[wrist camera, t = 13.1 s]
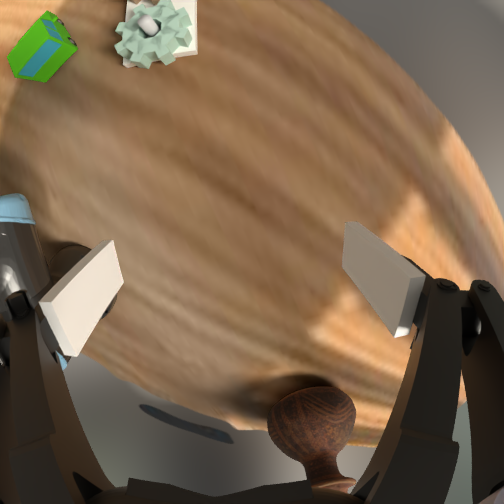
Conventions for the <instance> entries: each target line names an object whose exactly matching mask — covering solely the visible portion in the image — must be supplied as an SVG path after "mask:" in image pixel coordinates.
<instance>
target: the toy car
mask: <svg viewBox="0 0 504 504" xmlns="http://www.w3.org/2000/svg"><path fill="white" fill-rule="evenodd" d="M70 37H71V36H70V35H69V33H68V32H67V30H66V28H65V27H64V24H63V22H62V21H61V20H60V19H58V17H57V16H56V15H55V14H53V13H51V12H49V11H46V12H45V13H44V14H43V15H42V16H41V17H40V18H39V19H38V20H37V21H36V22H35V23H34V24H33V26H32V27H31V28H30V29H29V30H28V31H27V32H26V33H25V34H24V36H23V37H22V38H21V39H20V40H19V42H18V43H17V45H16V46H15V47H14V48H13V50H12V51H11V52H10V54H9V55H8V56H7V59H8V61H9V64H10V67H11V69H12V72H13V74H14V77H15V78H22V79H29V80H35V81H40V82H47V81H48V80H49V79H50V77H51V76H52V75H53V74H54V73H55V72H56V71H57V70H58V69H59V68H60V67H61V66H62V64H63V63H64V62H65V61H66V60H67V59H68V58H69V57H70V56H71V55H72V54H73V53H75V52H76V51H77V50H78V48H77V45H76V43H75V42H74V41H73V40H72V39H71V38H70Z"/></svg>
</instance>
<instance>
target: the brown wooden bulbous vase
mask: <svg viewBox="0 0 504 504" xmlns="http://www.w3.org/2000/svg"><path fill="white" fill-rule="evenodd" d="M355 418H356V409H355V406H354V404H353V402H352V400H351V398H350V397H349V396H348V395H347V394H345V393H344V392H343V391H341V390H340V389H338V388H335V387H310V388H306V389H302V390H299V391H296V392H293V393H291V394H289V395H287V396H286V397H284V398H283V399H281V400H280V401H279V402H278V403H276V404H275V405H274V406H273V407H272V409H271V411H270V413H269V415H268V421H267V426H268V432H269V435H270V437H271V439H272V441H273V442H274V444H275V445H276V446H277V447H278V448H279V449H280V450H281V451H282V452H283V453H285V454H286V455H287V456H289V457H290V458H292V459H294V460H297V461H299V462H301V463H302V464H303V466H304V468H305V472H306V476H307V480H309V479H310V483H311V487H320V488H328V489H333V490H338V491H342V492H345V493H347V491H348V488H349V487H351V486H353V485H355V484H356V480H355V479H353V478H349V477H344V476H342V475H341V474H340V472H339V470H338V467H337V462H336V456H337V454H338V453H339V452H340V451H341V450H342V449H343V448H344V447H345V445H346V444H347V442H348V440H349V438H350V436H351V433H352V430H353V427H354V423H355Z"/></svg>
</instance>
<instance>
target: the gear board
mask: <svg viewBox="0 0 504 504" xmlns="http://www.w3.org/2000/svg"><path fill="white" fill-rule="evenodd" d="M159 1H160V0H127V8H126V18H125V22H128V21H129V20H130V19H131V18H132V17H133V16H134V15H135V13H134V11H133V9H134V8H135V7H137V6H139V5H141V4H143V5H144V6H145V7H146V8H150V7H154V6H157V4H158V3H159ZM171 1H172V4H173V6H174V8H175V10H178V9H180V8H183V7H184V8H185V10H186V11H187V13H188V15H189V17H190V20H191V23H192V25H191V26H189V27H187V28H188V29H189V32H190V34H191V36H192V41H191V43H190V45H189V47H183V46H180V47H178V48H177V49H176V50H175V52H174V53H173V56H174V57H175V58H176V57H182V56H189V55H196V54H197V0H171ZM137 23H138V25H139V26H140V27H141V28H142V29H143V30H144V31H145V32H146V33H147V35H148V36H147V38H151V37H154V36H155V35H156V34H157V33H158V32H159V31H160V30H161V29H159V27H158V26H157V24H156V23H155V22H154V20H153V19H152V18H151V16H150V15H147V14H146V15H142V16H141V17H140V18H139V19H138V21H137ZM130 59H131V58H130ZM130 59H129V60H127V59H126V58H124V57H123V65H124V66H125V67H127V68H130V67H134V66H136V65H135V64H134V63H132V62H131V61H130ZM155 61H160V60H155ZM155 61H152V62H155Z"/></svg>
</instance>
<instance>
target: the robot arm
mask: <svg viewBox="0 0 504 504" xmlns="http://www.w3.org/2000/svg"><path fill="white" fill-rule="evenodd" d="M35 224H36V222H35V220H34V219H33V216H32V213H31V210H30V206H29V203H28V200H27V198H26V197H25V196H24V195H22V194H19V193H13V194H7V195H2V196H0V359H1V360H2V362H3V364H2V365H1V363H0V504H444V502H445V499H446V496H447V493H448V490H449V487H450V484H451V481H452V478H453V474H454V470H455V466H456V463H457V459H458V454H459V444H458V442H455V441H453V440H452V434H453V429H454V424H455V418H456V412H457V405H458V397H459V388H460V377H461V370H462V375H463V380H464V385H465V391H466V397H467V404H468V412H469V419H470V431H471V446H472V498H473V504H504V302H503V300H502V298H501V297H500V295H499V293H498V292H497V290H496V289H495V288H494V286H493V285H491V284H490V283H489V282H487V281H485V280H474V281H473V282H472V284H471V287H470V290H469V291H466V290H460V289H459V287H458V286H457V285H456V284H455V283H454V282H452V281H450V280H447V279H443V278H437V279H433V278H432V277H431V276H430V275H429V274H428V273H426V272H425V271H424V270H423V269H421V268H420V267H419V266H418V265H416V263H414V262H413V261H412V260H411V259H409V258H407V257H405V256H402V255H400V254H399V253H398V252H397V251H395V250H394V249H393V248H391V247H390V246H389V245H388V244H386V243H385V242H384V241H383V240H381V239H380V238H379V237H377V236H376V235H375V234H373V233H372V232H371V231H369V230H368V229H367V228H365V227H364V226H363V225H361V224H360V223H359V222H345V233H344V247H343V259H342V268H343V269H344V270H345V272H346V273H347V274H348V275H349V277H350V278H351V279H352V281H353V282H354V283H355V285H356V286H357V287H358V288H359V290H360V291H361V292H362V294H363V295H364V296H365V298H366V299H367V301H368V302H369V303H370V305H371V306H372V307H373V309H374V310H375V311H376V313H377V314H378V316H379V317H380V318H381V320H382V321H383V323H384V324H385V325H386V327H387V328H388V330H389V331H390V332H391V334H392V335H393V337H394V338H396V337H400V336H404V335H408V334H409V332H410V329H411V326H412V323H414V324H415V325H416V326H417V331H416V334H415V336H414V339H413V342H412V344H411V347H410V349H411V353H410V357H409V361H408V364H407V368H406V371H405V375H404V378H403V381H402V384H401V387H400V390H399V393H398V396H397V399H396V402H395V405H394V408H393V410H392V413H391V415H390V418H389V421H388V423H387V425H386V428H385V430H384V433H383V435H382V437H381V440H380V442H379V444H378V446H377V448H376V450H375V453H374V455H373V457H372V459H371V461H370V463H369V465H368V467H367V468H366V470H365V472H364V474H363V475H362V477H361V478H360V480H359V481H358V482H357V484H356V486H355V487H354V489H353V490H352V492H351V493H350V494H348V493H345V492H342V491H338V490H333V489H328V488H320V487H311V483H310V479H309V480H303V481H296V482H290V483H282V484H273V485H263V486H260V487H256V488H253V489H249V490H245V491H241V492H237V493H233V494H229V495H224V496H218V497H212V496H208V495H204V494H200V493H196V492H193V491H189V490H186V489H183V488H179V487H176V486H173V485H170V484H165V483H157V482H150V481H145V480H139V479H133V478H129V480H128V485H127V486H124V487H117V488H116V487H115V486H114V485H113V484H112V483H111V482H110V481H109V480H108V478H107V477H106V476H105V474H104V472H103V470H102V469H101V467H100V465H99V463H98V461H97V459H96V457H95V455H94V453H93V451H92V449H91V446H90V444H89V442H88V440H87V438H86V436H85V433H84V431H83V428H82V426H81V424H80V421H79V418H78V416H77V413H76V411H75V408H74V405H73V402H72V399H71V396H70V394H69V390H68V387H67V384H66V381H65V377H64V374H63V369H65V368H66V366H67V363H68V362H69V360H70V358H71V356H75V357H77V356H78V354H79V353H80V351H81V349H82V348H83V346H84V344H85V342H86V341H87V339H88V337H89V336H90V334H91V332H92V331H93V329H94V327H95V326H96V324H97V323H98V321H99V320H101V319H102V318H104V317H105V316H106V315H107V314H108V313H109V312H110V311H111V309H112V307H113V306H114V304H115V302H116V298H117V292H118V290H119V289H120V287H121V286H122V284H123V283H124V281H123V278H122V274H121V270H120V267H119V263H118V259H117V255H116V251H115V246H114V242H113V240H105V241H101V242H100V243H99V244H98V245H97V246H96V247H95V248H93V249H92V250H90V249H88V248H86V247H83V246H79V245H71V246H67V247H65V248H63V249H62V250H61V251H59V252H58V253H57V254H56V255H55V256H54V257H53V258H52V260H51V262H50V264H49V267H48V265H47V262H46V259H45V256H44V253H43V250H42V247H41V244H40V241H39V237H38V234H37V230H36V226H35Z"/></svg>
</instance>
